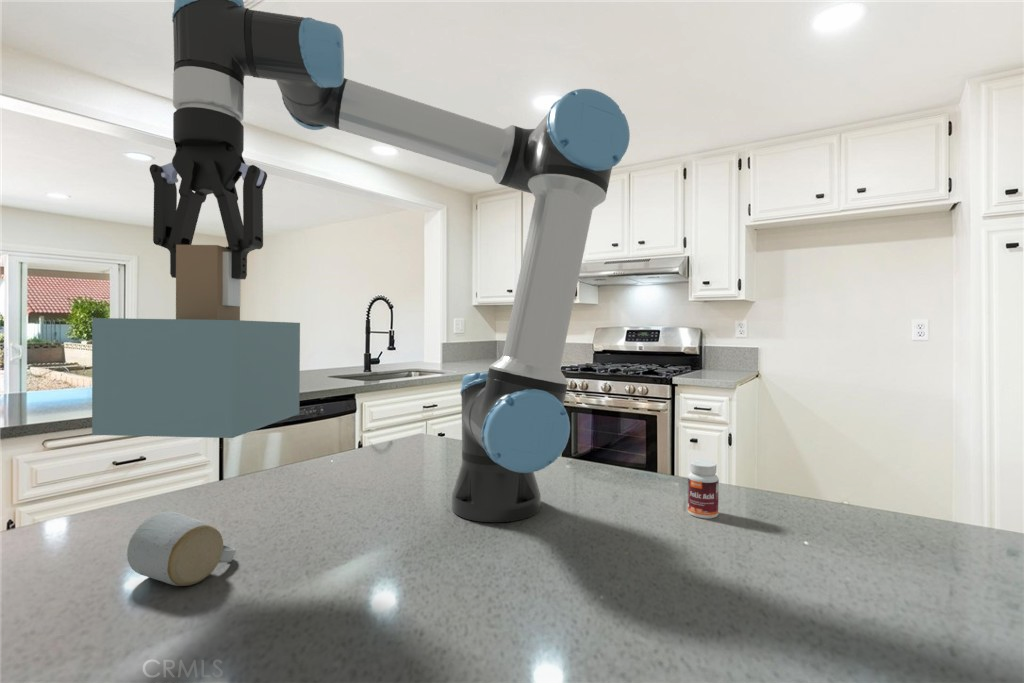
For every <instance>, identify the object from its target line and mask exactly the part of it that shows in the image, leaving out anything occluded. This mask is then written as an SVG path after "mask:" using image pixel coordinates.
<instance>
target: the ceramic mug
mask: <svg viewBox="0 0 1024 683" xmlns="http://www.w3.org/2000/svg"><path fill="white" fill-rule="evenodd" d="M235 555H236V548H235V547H232V546H230V545H227V544H224V539H223V536H222V534H221V533H220V531H219V530H218V529H217V528H216V527H214V526H212V525H211V524H209V523H207V522H205V521H203V520H199V519H196V518H193V517H191V516H189V515H186V514H183V513H180V512H177V511H171V510H168V511H162V512H158V513H155V514H153V515H151V516H150V517H148V518H146V519H145V520H143V521H142V522H141V523H140V525H138V527H137V528H136V530H135V531H134V532H133V534H132V535H131V537H130V539H129V542H128V546H127V553H126V557H127V561H128V564H129V566H130V568H131V569H132V570H133V571H134V572H135V574H139V575H141V576H145V577H148V578H150V579H153V580H156V581H160V582H162V583H165V584H168V585H172V586H176V587H179V586H180V587H187V586H192V585H195V584H198V583H199V582H201V581H203V580H204V579H206V578H208V576H210V575H211V574H212V573H213V571H214V570H215V569H216V567H217V566H218V565H219V563H220V564H221V563H232V561H233V560H234V558H235Z"/></svg>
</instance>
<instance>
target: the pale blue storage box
mask: <svg viewBox="0 0 1024 683" xmlns="http://www.w3.org/2000/svg"><path fill="white" fill-rule="evenodd" d="M226 247H227V246H221V245H219V244H191V245H176V278H175V319H174V318H172V319H171V318H123V317H122V318H120V317H117V318H116V317H115V318H113V317H108V318H107V317H106V318H105V317H91V343H92V344H91V354H92V355H91V361H92V362H91V371H92V372H91V386H92V387H91V397H92V398H91V400H92V401H91V403H92V404H91V405H92V406H91V412H92V413H91V432H92V433H91V435H92V436H117V437H118V436H123V437H124V436H125V437H163V438H166V437H167V438H170V437H173V438H212V439H213V438H216V439H217V438H218V439H221V438H222V439H233V438H237V437H239V436H241V435H244V434H247V433H251V432H254V431H257V430H259V429H261V428H264V427H267V426H269V425H272V424H276V423H277V422H280V421H281V422H282V421H283V420H286V419H289V418H291V417H295V416H297V415H298V416H299V415H300V392H301V391H300V387H301V386H300V385H301V384H300V382H301V381H300V375H301V374H300V372H301V371H300V368H301V364H300V363H301V362H300V361H301V357H300V356H301V350H300V349H301V322H292V321H291V322H290V321H289V322H288V321H287V322H286V321H268V320H267V321H265V320H263V321H262V320H241V305H240V306H224V305H222V296H223V252H231V251H230V250H227V249H226Z"/></svg>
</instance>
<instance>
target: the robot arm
mask: <svg viewBox="0 0 1024 683" xmlns="http://www.w3.org/2000/svg"><path fill="white" fill-rule="evenodd" d="M173 4H174V5H173V12H172V16H171V18H172V19H171V21H172V23H173V24H172V25H173V26H172V28H173V34H172V35H173V74H172V75H173V76H172V77H173V79H172V82H173V84H172V85H173V86H172V92H173V93H172V94H173V95H172V105H173V108H175V111H174V112H173V116H172V118H173V120H172V121H173V122H172V127H173V129H172V136H173V138H172V139H173V144H174V145H175V153H174V155H173V158H172V159H171V162H170V163H166V164H164V165H158V164H154V163H153V164H151V165H150V166H149V173H150V176H151V179H152V181H153V216H152V217H153V219H152V221H153V225H152V230H153V231H152V232H153V233H152V235H153V236H152V242H153V243H154V245H156V246H160V247H162V248H164V249H167V250H168V251H169V257H170V258H169V262H170V263H169V270H170V271H169V274H170V276H171V278H175V279H176V245H193V243H192V242H193V240H194V236H195V232H196V228H197V224H198V220H199V216H200V212H201V209H202V205H203V203H205V202H206V200H207V196H208V195H211V194H213V196H214V197H215V198H216V201H217V206H218V210H219V213H220V214H219V215H220V217H221V221H222V225H223V228H224V229H223V230H224V234H225V238H226V240H227V246H225V247H226V249H227V250H230V251H231V252H223V296H222V305H224V306H240V307H241V287H242V286H241V280H246V279H247V276H248V254H249V253H250V252H253V251H255V250H261V249H262V248H263V247H264V217H263V216H264V200H263V198H264V197H263V196H264V193H263V189H264V188H265V184H266V182H267V179H268V173H267V172H266V171H264V170H263V169H261V168H260V167H257V166H256V165H255V164H251V165H249V164H246V162H245V160H244V157H243V152H244V147H245V146H244V145H245V144H244V142H245V141H244V140H245V137H244V135H245V134H244V133H245V130H244V125H243V123H242V122H243V121H244V110H245V108H244V107H245V106H244V102H245V101H244V100H245V99H244V98H245V96H244V94H245V93H244V92H245V90H244V89H245V84H244V83H245V81H244V80H245V77H246V76H248V77H252V78H257V79H265V80H272V81H276V83H277V85H278V88H279V90H280V93H281V98H282V102H283V105H284V107H285V109H286V110H287V111H288V113H289V115H290V116H291V118H292V119H293V120H294V122H295V123H296V124H298V125H299V126H301V127H302V128H304V129H307V130H312V131H319V130H323V129H326V128H331V129H332V128H333V129H336V130H339V131H342V132H346V133H349V134H352V135H356V136H360V137H363V138H365V139H369V140H372V141H376V142H379V143H382V144H386V145H390V146H392V147H396V148H400V149H403V150H406V151H410V152H413V153H415V154H419V155H423V156H426V157H428V158H429V157H430V158H432V159H436V160H439V161H442V162H446V163H449V164H453V165H457V166H459V167H463V168H466V169H469V170H473V171H476V172H479V173H483V174H487V175H489V176H490V177H492V179H493V180H494V182H495V184H498V185H501V186H504V187H508V188H511V189H515V190H518V191H522V192H525V193H528V194H532V195H533V196H534V202H533V208H532V212H531V218H530V222H529V226H528V227H529V228H528V232H527V236H526V241H525V247H524V252H523V255H522V260H521V265H520V269H519V270H520V271H519V275H518V279H517V284H516V290H515V293H514V294H515V295H514V299H513V303H512V304H513V305H512V308H511V314H510V318H509V322H508V327H507V328H508V329H507V332H506V337H505V341H504V347H503V351H502V356H501V357H500V358H499V359H498V360H496V361H494V362H493V363H492V364H490V365H489V368H488V371H484V372H471V373H468V374H465V375H464V376H463V377H462V380H461V389H460V396H461V463H460V464H461V465H460V468H459V470H458V475H457V478H456V480H455V484H454V488H453V491H452V495H451V510H452V512H453V513H454V514H455V515H457V516H459V517H460V518H462V519H466V520H470V521H475V522H483V523H507V522H515V521H519V520H523V519H527V518H529V517H532V516H534V515H536V514H537V513H538V512H539V511H540V510H541V507H542V506H541V504H542V502H541V499H542V496H541V491H540V488H539V485H538V482H537V479H536V478H537V477H536V476H535V472H539V471H542V470H543V469H545V468H548V466H550V465H551V464H552V463H554V462H556V460H558V458H560V456H561V455H562V454H563V452H564V451H565V449H566V447H567V445H568V442H569V438H570V434H571V422H570V417H569V414H568V412H567V410H566V408H565V406H564V404H565V400H566V394H567V389H568V385H569V383H568V382H569V381H568V380H567V378H566V376H565V375H564V374H563V372H562V370H561V369H562V368H561V366H562V360H563V357H564V351H565V346H566V340H567V336H568V332H569V326H570V322H571V318H572V314H573V313H572V311H573V307H574V302H575V298H576V292H577V288H578V284H579V279H580V273H581V270H582V269H581V267H582V265H583V264H582V263H583V260H584V259H583V258H584V252H585V249H586V243H587V240H588V233H589V230H590V224H591V220H592V215H593V210H594V209H595V208H596V207H598V206H599V205H601V204H602V203H603V202H605V201H606V200H607V198H606V197H607V193H608V190H609V189H608V188H609V184H610V180H611V174H612V170H613V167H616V166H617V165H618V164H619V163H620V162H621V161H622V159H623V157H624V156H625V154H626V152H627V150H628V148H629V142H630V137H631V136H630V134H631V133H630V125H629V122H628V120H627V117H626V115H625V113H623V112H622V110H621V109H620V105H618V104H617V102H616V101H615V100H614V99H613V98H612V97H610V96H608V95H607V94H606V93H604V92H602V91H599V90H596V89H592V88H579V89H574V90H571V91H570V92H568V93H566V94H564V95H563V96H562V97H561V98H559V99H557V101H555V102H554V103H552V105H551V107H550V109H549V111H548V113H547V114H546V115H545V116H544V118H543V119H542V120H541V121H540V123H539V124H538V125H537V126H536V128H523V127H521V126H520V127H519V126H516V125H513V124H510V125H509V126H507V127H505V128H501V127H499V126H496V125H491V124H489V123H485V122H482V121H480V120H477V119H473V118H470V117H467V116H464V115H461V114H458V113H454V112H452V111H448V110H445V109H442V108H439V107H436V106H433V105H429V104H427V103H423V102H421V101H418V100H415V99H412V98H411V99H410V98H408V97H405V96H403V95H400V94H399V95H398V94H396V93H393V92H389V91H386V90H383V89H379V88H377V87H374V86H371V85H368V84H364V83H361V82H358V81H356V80H353V79H348V78H346V77H345V51H344V50H345V48H344V34H343V31H342V30H341V28H340V26H338V25H336V24H334V23H329V22H327V21H323V20H318V19H315V18H313V17H303V16H296V15H288V14H283V13H275V12H271V11H269V12H268V11H262V10H256V9H255V10H253V9H249V8H248V7H245V4H244V0H174V3H173ZM178 176H179V177H180V178H181V181H180V184H179V188H178V189H177V185H176V183H178V182H179V178H178ZM239 179H242V180H243V181H242V182H243V184H242V215H243V216H242V215H241V211H240V208H239V202H238V201H239V196H238V191H237V188H236V184H237V183H238V181H239ZM178 194H179V199H178ZM177 199H178V200H177ZM242 217H243V218H242ZM242 219H243V220H242Z"/></svg>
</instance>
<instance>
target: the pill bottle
mask: <svg viewBox="0 0 1024 683" xmlns="http://www.w3.org/2000/svg"><path fill="white" fill-rule="evenodd" d="M689 469H690V473H688V476H687V513H688V514H689V515H691V516H692V517H695V518H698V519H699V518H700V519H705V520H706V519H707V520H708V519H709V520H710V519H715V518H716V517H718V516H719V490H720V489H719V488H720V487H719V482H720V479H719V477H718V475H717V464H716V463H715V462H714V461H710V460H701V459H700V460H699V459H695V460H691V461H690V466H689Z"/></svg>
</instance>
